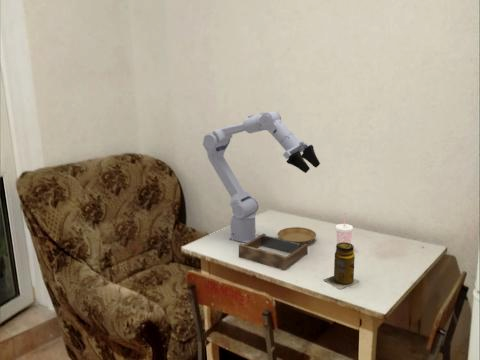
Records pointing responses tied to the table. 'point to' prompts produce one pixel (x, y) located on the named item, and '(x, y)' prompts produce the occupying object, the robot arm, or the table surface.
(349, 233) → the beverage cup
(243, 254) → the brown wooden open box
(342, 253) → the condiment
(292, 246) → the pusher plate
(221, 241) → the table surface
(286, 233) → the plant saucer
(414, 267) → the table surface
